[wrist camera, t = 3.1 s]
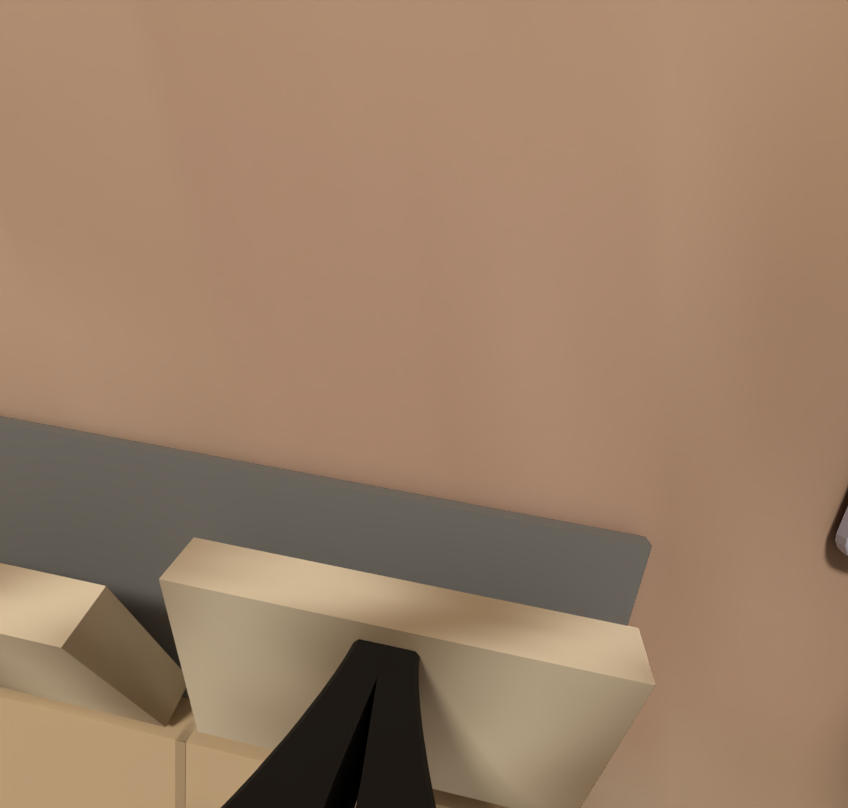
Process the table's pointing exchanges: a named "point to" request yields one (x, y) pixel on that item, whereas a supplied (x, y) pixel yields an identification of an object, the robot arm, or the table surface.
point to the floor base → (255, 529)
